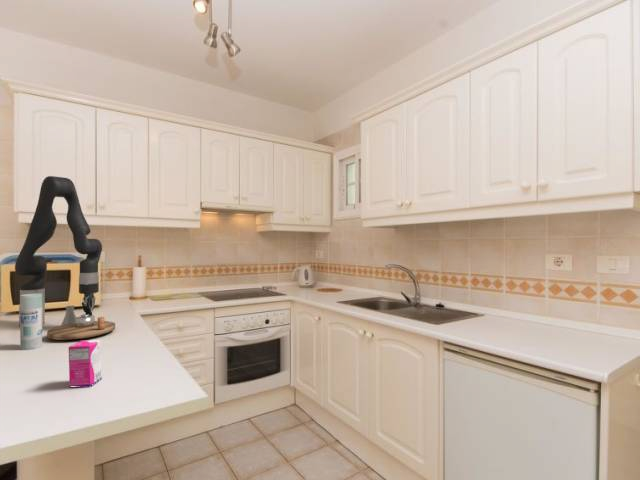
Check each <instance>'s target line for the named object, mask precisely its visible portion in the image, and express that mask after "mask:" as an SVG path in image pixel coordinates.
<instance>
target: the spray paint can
mask: <svg viewBox="0 0 640 480" xmlns="http://www.w3.org/2000/svg"><path fill="white" fill-rule="evenodd" d="M19 306H20V325H19V327H20V329H19V330H20V331H19V332H20V334H19V336H20V347H19V348H20V350H22V351H30V350H36V349H39V348H41V347H42V345H43V324H42V294H40V293H36V294H25V295H21V296H20V295H19Z"/></svg>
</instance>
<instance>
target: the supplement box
mask: <svg viewBox="0 0 640 480" xmlns="http://www.w3.org/2000/svg"><path fill="white" fill-rule="evenodd" d="M101 343H102V341H101V339H94V340H93V339H91V340H90V339H89V340H80V341H78V342H76V343H74V344H72V345H70V346H68V366H69V367H68V369H69V370H68V373H69V374H68V375H69V379H68V380H69V387H70V386H91V385H92V384H94V383H95V382H96V381H98V380H99V379H101V378H102V379H103V374H102V344H101ZM102 379H101V380H102ZM98 382H99V381H98ZM95 384H96V383H95ZM95 384H94V385H95ZM91 387H92V386H91Z"/></svg>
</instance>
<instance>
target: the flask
mask: <svg viewBox="0 0 640 480" xmlns="http://www.w3.org/2000/svg"><path fill="white" fill-rule="evenodd" d="M76 317H77V316H76V315H75V305H66V306H65V315H64V317H63V320H62V322H61V325H60V326H63V325H68V324H73V323H75V318H76Z"/></svg>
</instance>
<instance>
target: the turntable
mask: <svg viewBox="0 0 640 480" xmlns="http://www.w3.org/2000/svg"><path fill="white" fill-rule="evenodd" d="M115 329H116V323H115V322H113V321H108V320H107V321H105V316H99V317H97V320H95V325H93V326H90V327H83V328H77V327H75V323H73V324H68V325H63V326H61V325H59V326H56V327H52V328H51V329H48V330H47V331H46V337H47V338H48V339H49V340H57V341H58V340H60V341H63V340H79V338H82V339H86V338H87V337H89V338H93V337H97V336H101V335H105V334H108V333H111V332H113V331H114V330H115ZM87 339H88V338H87Z"/></svg>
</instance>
